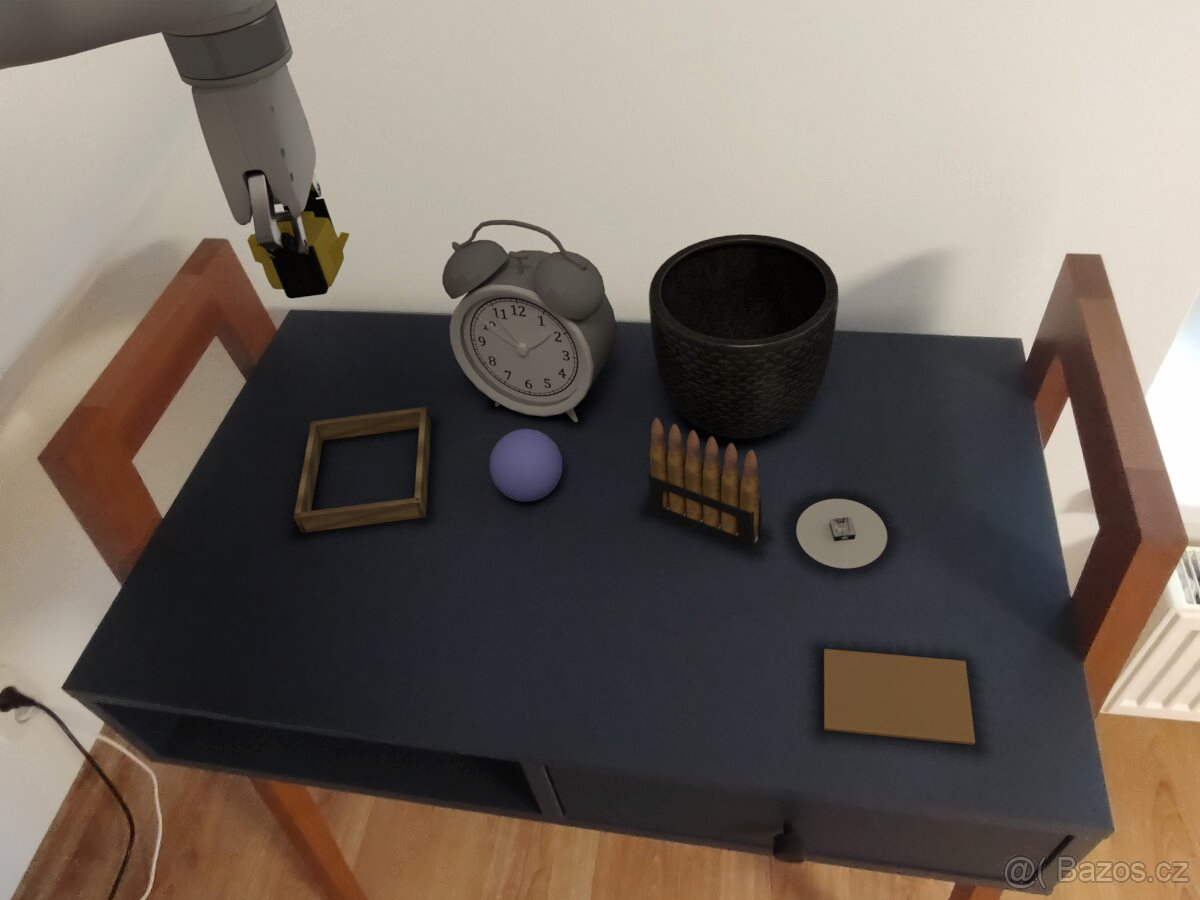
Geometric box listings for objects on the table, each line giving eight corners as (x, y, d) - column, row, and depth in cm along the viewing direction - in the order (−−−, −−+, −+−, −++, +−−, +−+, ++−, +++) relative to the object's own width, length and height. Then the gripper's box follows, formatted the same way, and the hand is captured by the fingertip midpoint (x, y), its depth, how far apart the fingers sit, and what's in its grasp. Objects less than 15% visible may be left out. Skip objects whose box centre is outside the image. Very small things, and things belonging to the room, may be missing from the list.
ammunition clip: (649, 511, 89) (641, 421, 80) (658, 497, 90) (651, 407, 81) (753, 551, 84) (757, 461, 76) (762, 536, 85) (766, 446, 77)
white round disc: (806, 572, 82) (807, 563, 81) (788, 503, 88) (789, 494, 87) (897, 563, 82) (899, 554, 81) (874, 494, 87) (875, 485, 86)
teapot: (373, 252, 76) (355, 196, 73) (354, 295, 73) (335, 238, 69) (279, 256, 77) (257, 200, 74) (257, 298, 73) (232, 242, 70)
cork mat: (974, 745, 70) (975, 742, 70) (823, 730, 72) (824, 727, 72) (964, 663, 75) (965, 660, 74) (823, 651, 77) (823, 648, 76)
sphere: (505, 461, 95) (493, 411, 90) (572, 465, 94) (564, 415, 89) (488, 514, 90) (474, 465, 85) (559, 519, 89) (549, 470, 84)
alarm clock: (460, 410, 101) (411, 237, 85) (494, 359, 106) (454, 187, 90) (602, 439, 96) (578, 261, 80) (630, 384, 101) (613, 206, 85)
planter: (818, 483, 89) (832, 355, 78) (641, 463, 93) (630, 339, 81) (831, 364, 100) (845, 237, 89) (673, 351, 104) (666, 228, 93)
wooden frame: (425, 517, 91) (420, 501, 89) (301, 533, 91) (293, 517, 89) (431, 422, 100) (426, 406, 98) (318, 437, 100) (311, 421, 98)
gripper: (199, 0, 68) (282, 217, 81) (139, 108, 56) (248, 343, 68) (302, -13, 68) (369, 206, 81) (264, 91, 56) (350, 329, 68)
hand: (313, 267), depth 74 cm, fingers closed on teapot, 6 cm apart
